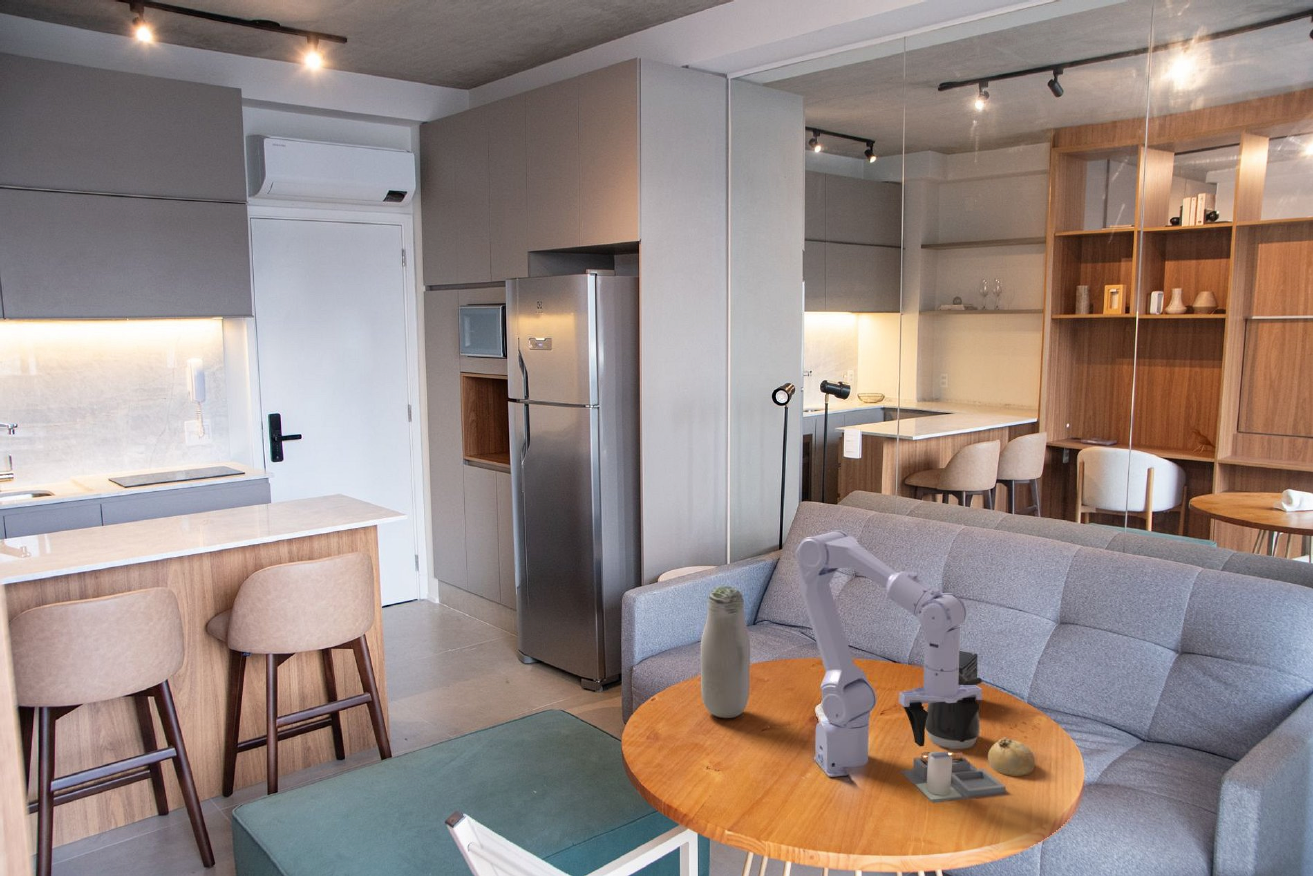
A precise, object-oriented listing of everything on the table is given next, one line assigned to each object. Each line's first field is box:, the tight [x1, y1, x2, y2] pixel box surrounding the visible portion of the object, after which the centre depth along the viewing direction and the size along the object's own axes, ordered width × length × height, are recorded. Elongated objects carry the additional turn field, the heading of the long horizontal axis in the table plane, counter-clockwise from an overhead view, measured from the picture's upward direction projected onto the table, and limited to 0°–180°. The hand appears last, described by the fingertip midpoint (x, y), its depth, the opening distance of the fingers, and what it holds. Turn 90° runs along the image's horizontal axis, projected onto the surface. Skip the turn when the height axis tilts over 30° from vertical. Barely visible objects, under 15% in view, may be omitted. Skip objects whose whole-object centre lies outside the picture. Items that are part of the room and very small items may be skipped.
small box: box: [959, 650, 978, 680], centre depth 205 cm, size 11×6×10 cm, turn 144°
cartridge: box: [926, 751, 952, 795], centre depth 162 cm, size 4×4×6 cm
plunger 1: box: [920, 751, 931, 765], centre depth 169 cm, size 3×3×3 cm
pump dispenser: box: [925, 673, 983, 750], centre depth 183 cm, size 10×10×15 cm
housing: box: [899, 756, 1008, 804], centre depth 166 cm, size 14×12×4 cm
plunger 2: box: [945, 749, 964, 762], centre depth 170 cm, size 3×3×3 cm
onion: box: [987, 736, 1036, 777], centre depth 172 cm, size 8×8×7 cm
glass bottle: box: [700, 585, 751, 719], centre depth 199 cm, size 10×10×28 cm
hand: (939, 742), depth 162 cm, fingers open, 7 cm apart
